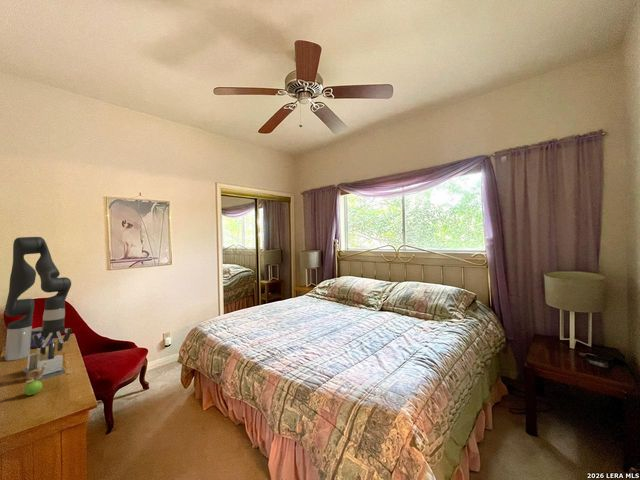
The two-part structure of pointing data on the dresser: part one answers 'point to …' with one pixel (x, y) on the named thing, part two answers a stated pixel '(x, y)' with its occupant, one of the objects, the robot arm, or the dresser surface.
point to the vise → (32, 367)
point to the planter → (37, 331)
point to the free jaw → (51, 361)
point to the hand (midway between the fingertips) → (51, 352)
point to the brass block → (40, 355)
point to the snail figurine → (34, 381)
